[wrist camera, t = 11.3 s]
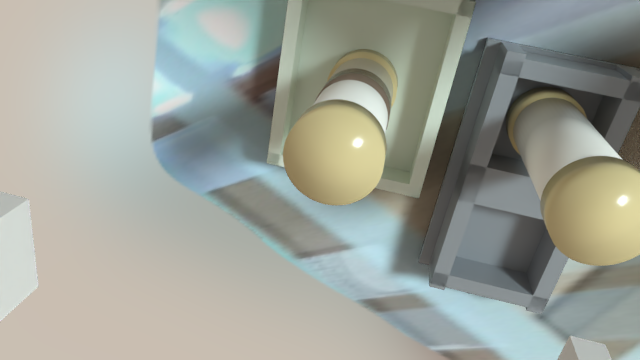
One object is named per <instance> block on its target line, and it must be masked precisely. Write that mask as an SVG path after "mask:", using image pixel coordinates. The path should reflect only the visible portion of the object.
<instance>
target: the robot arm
mask: <svg viewBox="0 0 640 360" xmlns="http://www.w3.org/2000/svg"><path fill="white" fill-rule="evenodd" d="M37 287H38V277H37V268H36V260H35V251H34V242H33V234H32V224H31V215H30V206H29V199H27V198H23V197H19V196H16V195H12V194H7V193H4V192H0V321H1V320H2V319H3V318H4V317H5V316H6V315H8V314H9V313H10V312H11V311H12V310H13V309H14V308H15V307H16V306H17V305H18V304H20V303H21V302H22V301H23V300H24V299H25V298H26V297H27V296H28V295H29V294H31V293H32V292H33V291H34V290H35V289H36V288H37ZM558 360H612V359H611V357H610V355H609V352H608V350H607V348H606V345H605V344H601V343H597V342H593V341H589V340H585V339H581V338H577V337H573V336H570V337H569V339H568V340H567V342H566V344H565V346H564V348H563V350H562V352H561V354H560V356H559V358H558Z"/></svg>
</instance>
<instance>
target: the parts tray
mask: <svg viewBox="0 0 640 360" xmlns="http://www.w3.org/2000/svg"><path fill="white" fill-rule="evenodd" d="M475 4H476V2H475V0H288V4H287V12H286V19H285V27H284V35H283V42H282V50H281V57H280V65H279V73H278V80H277V88H276V95H275V103H274V111H273V118H272V126H271V134H270V141H269V149H268V156H267V163H268V164H273V165H277V166H281V167H284V162H283V148H284V143H285V141H286V138H287V136H288V134H289V132H290V131H291V129H292V128H293V126H294V125H295V123H296V122H297V120H298V119H299V118H300V116H301V115H302V114H303V113H304V112H305V111H306V110H307V109H308V108H310V107H311V106H313V104H314V103H315V100H316V98H317V96H318V95H319V93H320V92H321V90H322V89H323V87H324V86H325V84H326V83H327V79H328V76H329V74H330V72H331V70H332V69H333V67H334V66H335V64H336V63H337V62H338V60H339V59H340V58H341V57H343V56H344V55H345V54H347V53H349V52H351V51H354V50H357V49H370V50H374V51H377V52H379V53H381V54H383V55H384V56H385V57H387V58H388V59H389V60H390V62H391V63H392V64H393V66H394V68H395V70H396V73H397V77H398V88H397V94H396V99H395V102H394V104H393V106H392V108H391V112H390V117H389V122H388V127H387V130H386V133H385V137H386V143H387V151H386V157H385V162H384V168H383V173H382V176H381V178H380V180H379V182H378V184H377V186H376V187H375V188H376V189H380V190H384V191H389V192H393V193H397V194H402V195H406V196H410V197H415V198H419V196H420V193H421V189H422V186H423V182H424V179H425V175H426V172H427V169H428V165H429V162H430V158H431V155H432V151H433V148H434V145H435V141H436V138H437V134H438V131H439V127H440V124H441V121H442V117H443V114H444V110H445V107H446V103H447V100H448V97H449V93H450V90H451V86H452V83H453V79H454V76H455V73H456V69H457V66H458V62H459V59H460V55H461V52H462V49H463V45H464V42H465V38H466V35H467V31H468V28H469V25H470V21H471V18H472V14H473V11H474V7H475Z"/></svg>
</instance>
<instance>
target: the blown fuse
mask: <svg viewBox="0 0 640 360" xmlns="http://www.w3.org/2000/svg"><path fill="white" fill-rule="evenodd" d="M397 88H398V77H397V73H396V70H395V68H394V66H393V64H392V63H391V62H390V60H389V59H388V58H387V57H385V56H384V55H383V54H381V53H379V52H377V51H374V50H370V49H357V50H354V51H351V52H349V53H347V54H345V55H344V56H343V57H341V58H340V59H339V60H338V62H337V63H336V64H335V66H334V67H333V69H332V70H331V72H330V74H329V76H328V79H327V83H326V84H325V86H324V87H323V89H322V90H321V92H320V93H319V95H318V96H317V98H316V100H315V103H314V104H313V106H311V107H310V108H308V109H307V110H306V111H305V112H304V113H303V114H302V115H301V116H300V118H299V119H298V120H297V122H296V123H295V125H294V126H293V128H292V129H291V131H290V132H289V134H288V136H287V138H286V141H285V143H284V148H283V162H284V167H285V170H286V173H287V175H288V177H289V179H290V180H291V182H292V183H293V184H294V186H295V187H296V188H297V189H298V190H299V191H300V192H301V193H303V194H304V195H305V196H307V197H309V198H310V199H312V200H314V201H317V202H320V203H323V204H328V205H346V204H351V203H354V202H356V201H359V200H361V199H362V198H364V197H366V196H367V195H368V194H369V193H371V192H372V190H373V189H374V188H375V187H376V186H377V184H378V182H379V180H380V178H381V176H382V173H383V168H384V162H385V157H386V151H387V143H386V137H385V133H386V130H387V127H388V122H389V117H390V112H391V108H392V106H393V104H394V102H395V99H396V94H397Z"/></svg>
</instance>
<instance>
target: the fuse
mask: <svg viewBox="0 0 640 360" xmlns="http://www.w3.org/2000/svg"><path fill="white" fill-rule="evenodd" d="M506 131H507V134H508V136H509V139H510V141H511V143H512V146H513V147H514V149H515V150H516V151H517V153H518V154H520V155H521V157H522V160H523V162H524V164H525V167H526V169H527V171H528V174H529V176H530V178H531V180H532V183H533V185H534V187H535V190H536V192H537V194H538V197H539V199H540V210H541V215H542V218H543V220H544V223H545V225H546V228H547V230H548V232H549V235H550V237H551V239H552V241H553V243H554V245H555V246H556V247H557V249H558V250H559V251H560V252H561V253H563V254H564V255H565V256H567V257H569V258H570V259H572V260H575V261H577V262H580V263H583V264H588V265H598V266H600V265H613V264H617V263H621V262H624V261H627V260H630V259H632V258H634V257H636V256H638V255H639V254H640V171H639V170H638V169H637V168H636V167H635V166H634V165H632V164H630V163H629V162H627V161H624V160H622V158H621V157H620V156H619V155H618V154H617V153H616V152H615V150H614V149H613V148H612V147H611V146H610V145H609V144H608V142H607V141H606V140H605V139H604V138H603V137H602V136H601V134H600V133H599V132H598V131H597V130H596V129H595V128H594V126H593V125H592V124H591V123H590V122H589V121H588V120H587V117H586V114H585V112H584V110H583V108H582V107H581V106H580V105H579V103H578V102H577V101H576V100H575V99H574V98H573V97H572V96H571V95H570V94H569V93H567V92H566V91H564V90H562V89H560V88H556V87H546V86H545V87H538V88H534V89H531V90H529V91H527V92H525V93H523V94H522V95H521V96H519V97H518V98H517V99H516V100H515V101H514V102H513V104H512V105H511V107H510V108H509V110H508V113H507V116H506Z"/></svg>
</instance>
